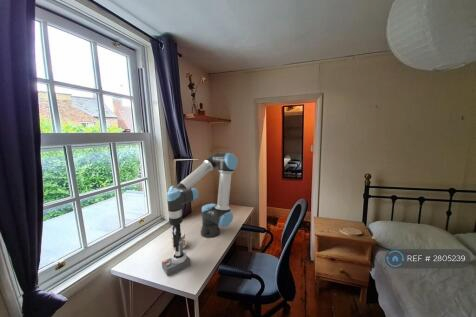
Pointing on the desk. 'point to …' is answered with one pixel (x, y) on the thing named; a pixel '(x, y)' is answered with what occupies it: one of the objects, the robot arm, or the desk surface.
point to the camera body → (175, 264)
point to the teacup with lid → (182, 239)
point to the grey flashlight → (180, 248)
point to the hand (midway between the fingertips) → (178, 252)
